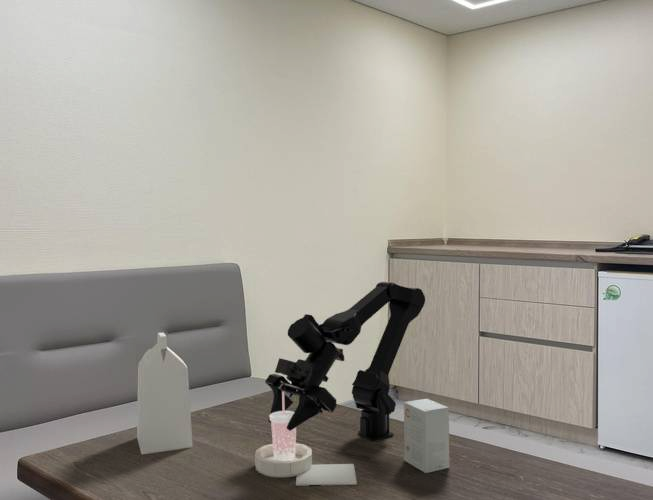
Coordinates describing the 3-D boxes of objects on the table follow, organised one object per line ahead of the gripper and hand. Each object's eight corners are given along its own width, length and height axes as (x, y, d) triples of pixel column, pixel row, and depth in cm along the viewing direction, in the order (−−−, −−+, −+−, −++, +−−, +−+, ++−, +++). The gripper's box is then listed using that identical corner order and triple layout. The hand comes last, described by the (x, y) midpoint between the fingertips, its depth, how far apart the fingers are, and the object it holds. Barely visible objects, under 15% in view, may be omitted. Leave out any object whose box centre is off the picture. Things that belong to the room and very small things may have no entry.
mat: (353, 465, 130) (353, 463, 130) (356, 484, 120) (356, 483, 120) (297, 466, 130) (297, 464, 130) (295, 485, 120) (295, 484, 120)
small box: (450, 468, 128) (449, 407, 128) (425, 474, 125) (424, 411, 125) (427, 455, 135) (427, 397, 135) (403, 460, 133) (403, 401, 132)
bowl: (294, 452, 138) (294, 438, 138) (322, 469, 128) (322, 455, 128) (246, 463, 132) (246, 449, 132) (271, 482, 122) (271, 467, 122)
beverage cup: (304, 456, 130) (303, 391, 129) (281, 464, 126) (280, 397, 125) (287, 449, 134) (285, 386, 134) (264, 456, 130) (263, 391, 130)
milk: (192, 447, 142) (190, 336, 141) (141, 454, 138) (138, 340, 137) (184, 431, 153) (182, 328, 153) (137, 437, 149) (134, 332, 148)
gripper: (270, 338, 139) (231, 396, 132) (325, 350, 125) (284, 415, 118) (298, 366, 144) (261, 423, 138) (353, 380, 131) (315, 444, 124)
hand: (278, 425), depth 129 cm, fingers closed on beverage cup, 6 cm apart
